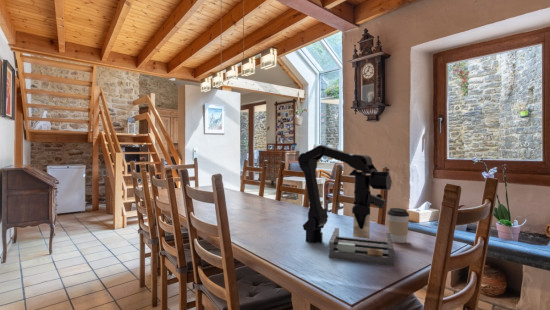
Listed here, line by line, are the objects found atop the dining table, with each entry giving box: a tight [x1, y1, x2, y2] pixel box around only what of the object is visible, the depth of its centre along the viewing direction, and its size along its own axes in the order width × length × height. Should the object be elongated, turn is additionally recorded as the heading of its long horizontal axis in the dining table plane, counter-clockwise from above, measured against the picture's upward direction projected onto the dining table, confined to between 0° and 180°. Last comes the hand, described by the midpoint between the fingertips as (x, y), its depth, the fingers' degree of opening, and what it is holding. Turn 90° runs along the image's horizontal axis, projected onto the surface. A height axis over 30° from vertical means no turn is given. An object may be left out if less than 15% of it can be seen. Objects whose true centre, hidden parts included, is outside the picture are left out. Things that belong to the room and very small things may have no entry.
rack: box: [328, 227, 395, 267], centre depth 114 cm, size 22×20×7 cm
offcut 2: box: [368, 248, 383, 256], centre depth 106 cm, size 5×2×4 cm, turn 72°
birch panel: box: [352, 214, 371, 240], centre depth 114 cm, size 6×2×9 cm, turn 72°
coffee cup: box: [386, 207, 410, 244], centre depth 130 cm, size 9×9×15 cm
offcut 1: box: [338, 242, 355, 253], centre depth 109 cm, size 6×2×5 cm, turn 72°
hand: (361, 228), depth 114 cm, fingers closed on birch panel, 2 cm apart
